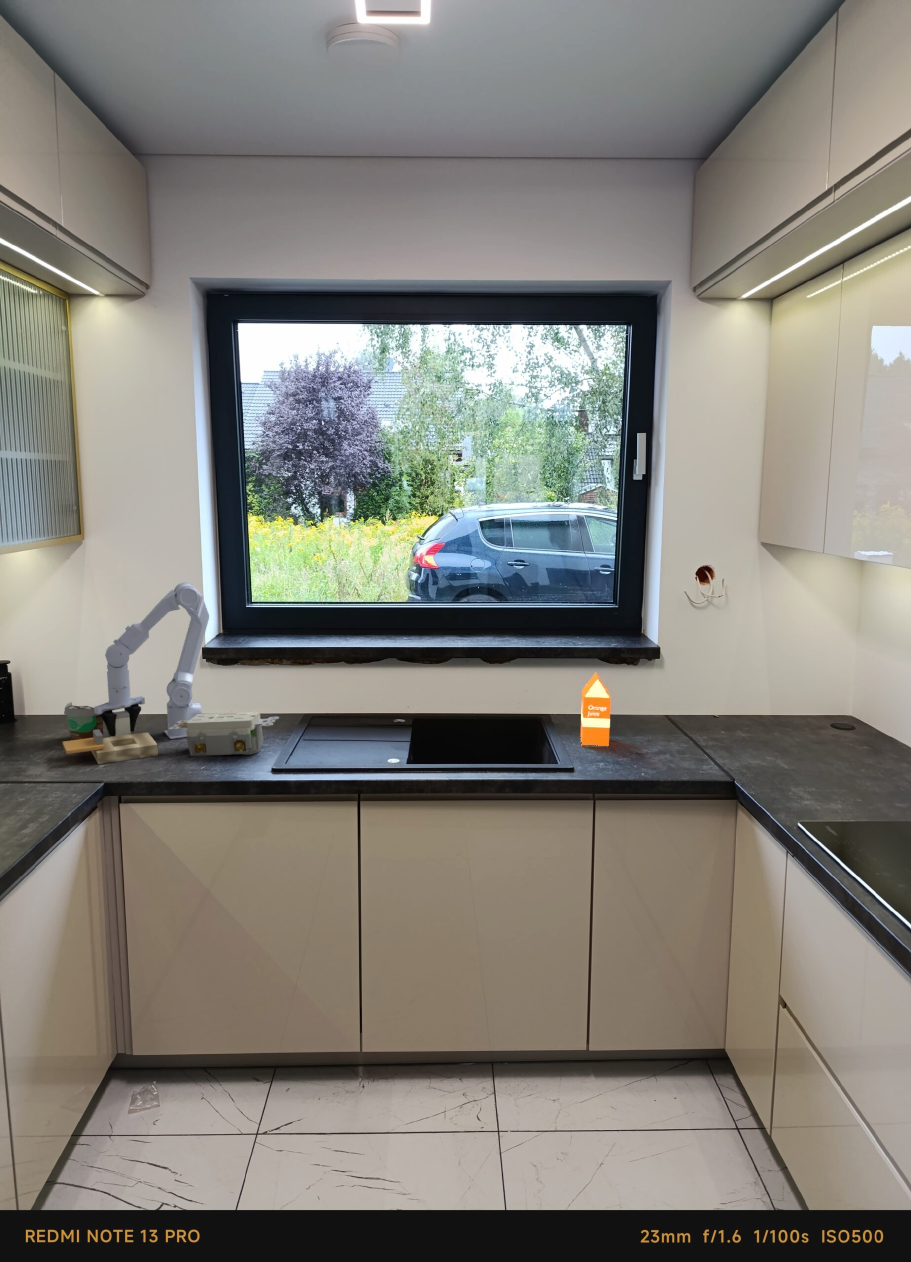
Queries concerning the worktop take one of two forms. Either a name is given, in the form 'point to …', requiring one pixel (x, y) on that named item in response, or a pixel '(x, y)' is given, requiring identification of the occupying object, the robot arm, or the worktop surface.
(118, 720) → the grey upright block
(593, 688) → the orange juice
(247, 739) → the electrical outlet
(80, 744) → the shutter
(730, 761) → the worktop surface
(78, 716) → the food container
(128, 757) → the socket block
